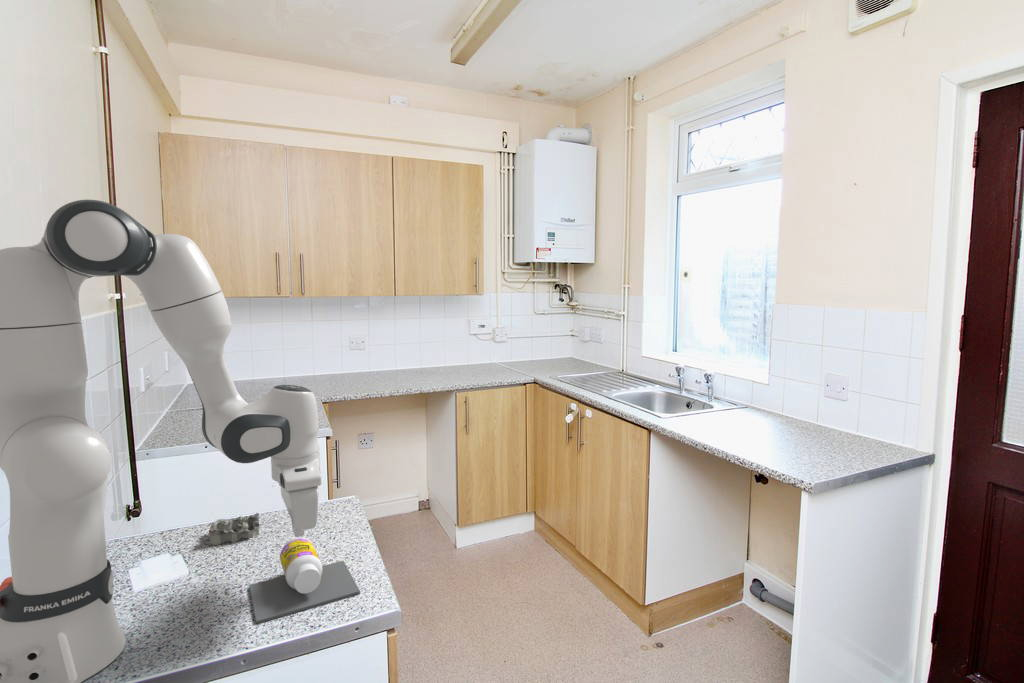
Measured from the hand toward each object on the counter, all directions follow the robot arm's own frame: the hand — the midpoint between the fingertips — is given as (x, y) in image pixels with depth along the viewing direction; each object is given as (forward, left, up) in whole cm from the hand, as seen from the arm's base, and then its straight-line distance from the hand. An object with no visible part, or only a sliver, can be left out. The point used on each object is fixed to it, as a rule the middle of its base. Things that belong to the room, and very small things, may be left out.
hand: (298, 533), depth 104 cm
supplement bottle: (0, +4, -6) cm, 7 cm away
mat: (0, -5, -10) cm, 11 cm away
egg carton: (-10, +28, -10) cm, 31 cm away
